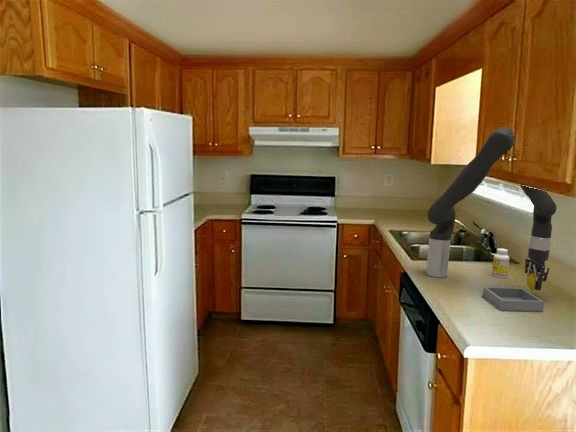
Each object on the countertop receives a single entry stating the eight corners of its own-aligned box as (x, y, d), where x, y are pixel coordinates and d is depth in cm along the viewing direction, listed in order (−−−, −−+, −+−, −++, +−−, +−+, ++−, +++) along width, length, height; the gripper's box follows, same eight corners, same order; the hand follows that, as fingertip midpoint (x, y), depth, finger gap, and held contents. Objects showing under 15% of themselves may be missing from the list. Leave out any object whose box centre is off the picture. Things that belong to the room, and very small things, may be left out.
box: (482, 296, 195) (483, 286, 195) (521, 297, 196) (522, 288, 195) (500, 310, 180) (501, 300, 179) (542, 311, 180) (544, 301, 180)
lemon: (542, 291, 198) (545, 272, 197) (538, 294, 195) (540, 275, 193) (528, 287, 202) (530, 269, 201) (523, 290, 198) (526, 271, 197)
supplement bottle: (490, 273, 230) (493, 247, 227) (504, 274, 229) (507, 248, 226) (493, 277, 223) (496, 250, 221) (508, 278, 222) (512, 251, 220)
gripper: (521, 242, 202) (515, 281, 205) (539, 251, 188) (534, 293, 191) (538, 243, 202) (533, 282, 205) (558, 252, 188) (552, 293, 191)
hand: (533, 287), depth 198 cm, fingers closed on lemon, 5 cm apart
